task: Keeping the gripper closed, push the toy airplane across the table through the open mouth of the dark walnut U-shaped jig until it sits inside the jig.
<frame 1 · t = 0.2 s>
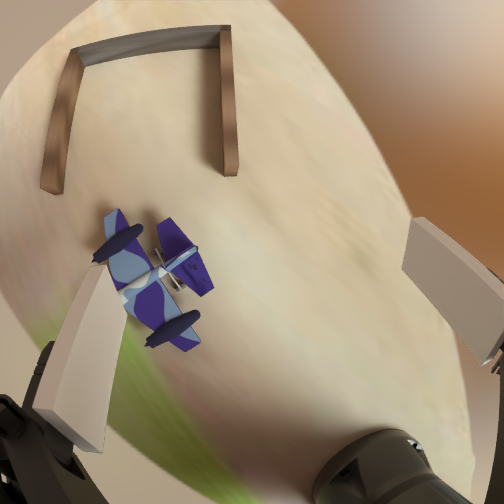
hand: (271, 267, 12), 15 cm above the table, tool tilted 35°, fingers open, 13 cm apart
jig: (141, 109, 27), on the table
toy airplane: (140, 288, 26), on the table
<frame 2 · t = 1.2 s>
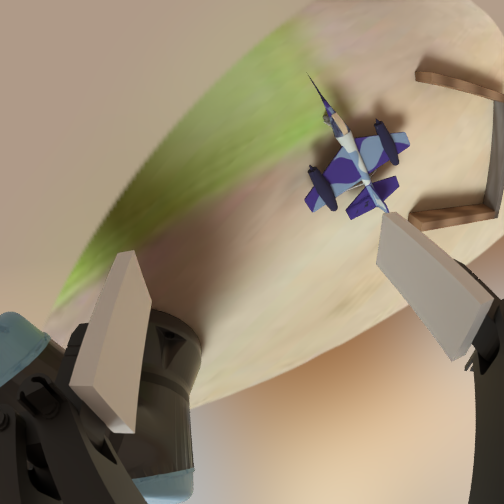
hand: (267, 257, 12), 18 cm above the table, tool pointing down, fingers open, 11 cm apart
jig: (458, 150, 30), on the table
toy airplane: (342, 149, 29), on the table
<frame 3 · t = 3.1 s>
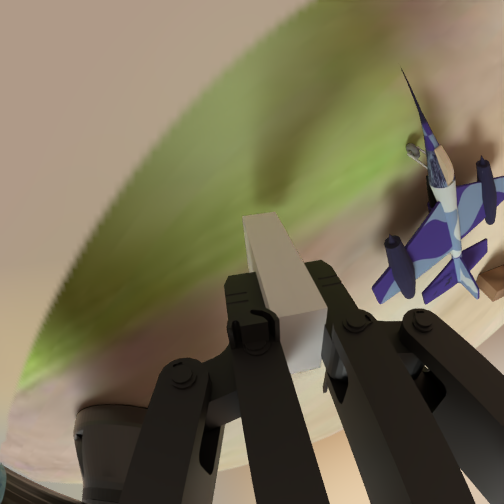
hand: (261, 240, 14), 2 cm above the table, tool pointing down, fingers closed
toy airplane: (423, 197, 17), on the table
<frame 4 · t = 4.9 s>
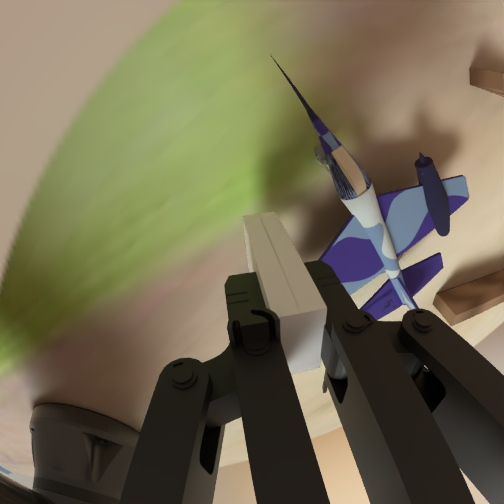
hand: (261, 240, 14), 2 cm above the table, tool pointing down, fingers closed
toy airplane: (350, 207, 16), on the table, touching gripper
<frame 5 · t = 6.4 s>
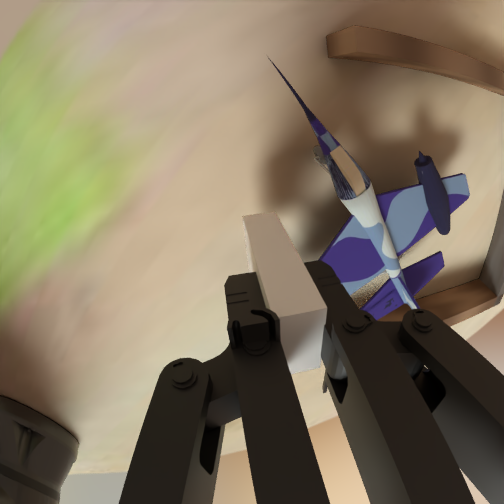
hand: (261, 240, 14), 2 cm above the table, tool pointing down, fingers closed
jig: (441, 201, 17), on the table
toy airplane: (350, 207, 16), on the table, touching gripper
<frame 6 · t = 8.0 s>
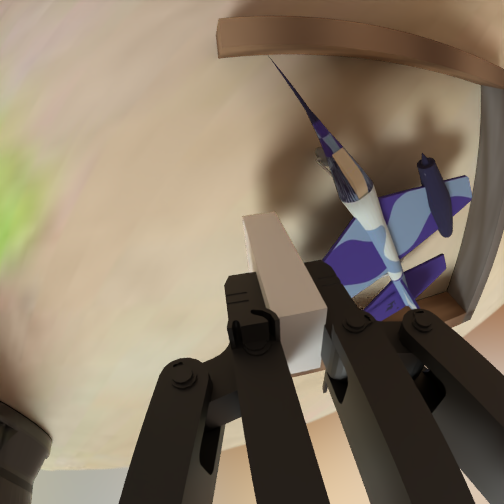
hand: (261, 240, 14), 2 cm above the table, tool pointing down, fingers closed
jig: (382, 207, 16), on the table
toy airplane: (352, 209, 16), on the table, touching gripper
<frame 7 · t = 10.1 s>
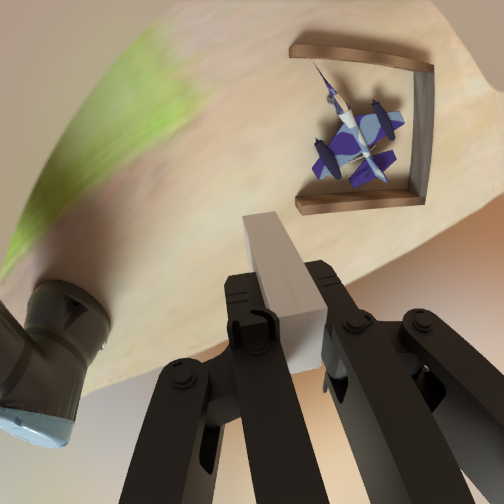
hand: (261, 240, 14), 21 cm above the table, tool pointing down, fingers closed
jig: (359, 128, 32), on the table
toy airplane: (344, 127, 32), on the table
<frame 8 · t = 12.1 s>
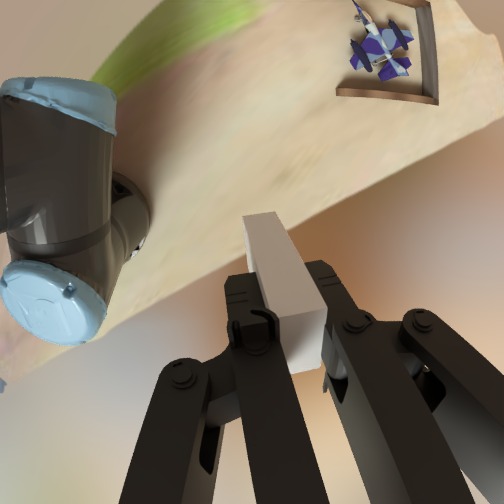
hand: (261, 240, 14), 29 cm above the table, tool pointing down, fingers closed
jig: (380, 42, 33), on the table
toy airplane: (368, 40, 33), on the table
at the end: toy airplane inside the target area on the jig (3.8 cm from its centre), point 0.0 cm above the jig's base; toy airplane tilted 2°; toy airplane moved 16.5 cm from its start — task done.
